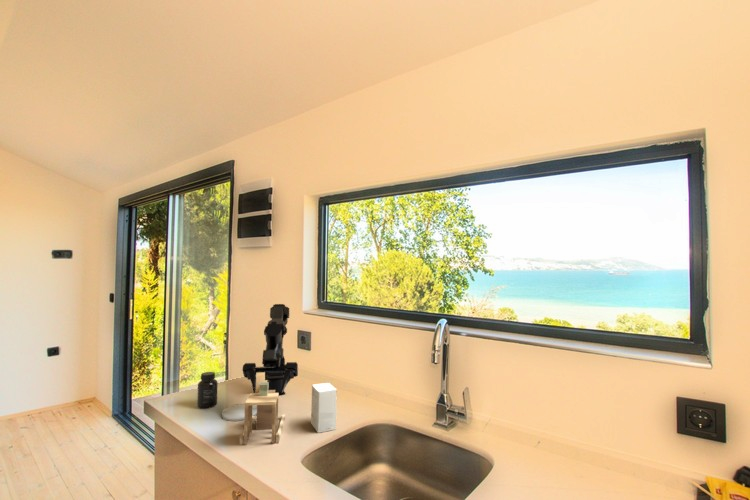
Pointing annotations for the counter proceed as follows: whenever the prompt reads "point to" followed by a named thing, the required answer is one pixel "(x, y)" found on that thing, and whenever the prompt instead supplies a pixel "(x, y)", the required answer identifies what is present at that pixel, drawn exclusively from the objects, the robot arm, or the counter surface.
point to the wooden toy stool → (261, 399)
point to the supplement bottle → (207, 391)
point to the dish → (237, 412)
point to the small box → (323, 407)
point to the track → (276, 433)
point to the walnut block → (264, 416)
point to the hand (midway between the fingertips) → (267, 392)
